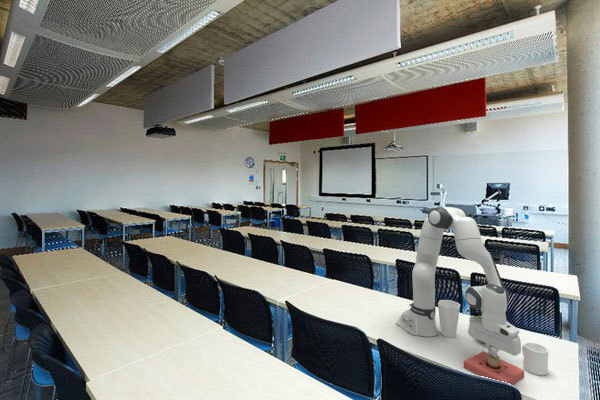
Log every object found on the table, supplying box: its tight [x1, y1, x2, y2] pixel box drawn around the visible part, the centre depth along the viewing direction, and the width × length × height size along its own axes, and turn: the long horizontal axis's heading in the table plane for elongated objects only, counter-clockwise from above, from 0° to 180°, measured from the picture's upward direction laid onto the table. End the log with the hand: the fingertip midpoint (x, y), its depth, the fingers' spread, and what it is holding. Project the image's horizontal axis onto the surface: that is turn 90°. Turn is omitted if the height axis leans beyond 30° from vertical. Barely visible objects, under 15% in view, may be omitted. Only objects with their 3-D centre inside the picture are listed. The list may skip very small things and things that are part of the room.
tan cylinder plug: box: [488, 354, 500, 369], centre depth 133 cm, size 4×4×7 cm
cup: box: [437, 299, 461, 339], centre depth 165 cm, size 11×10×17 cm
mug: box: [521, 342, 549, 376], centre depth 136 cm, size 12×8×10 cm
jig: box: [463, 351, 525, 386], centre depth 133 cm, size 17×15×3 cm
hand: (492, 354), depth 132 cm, fingers closed
